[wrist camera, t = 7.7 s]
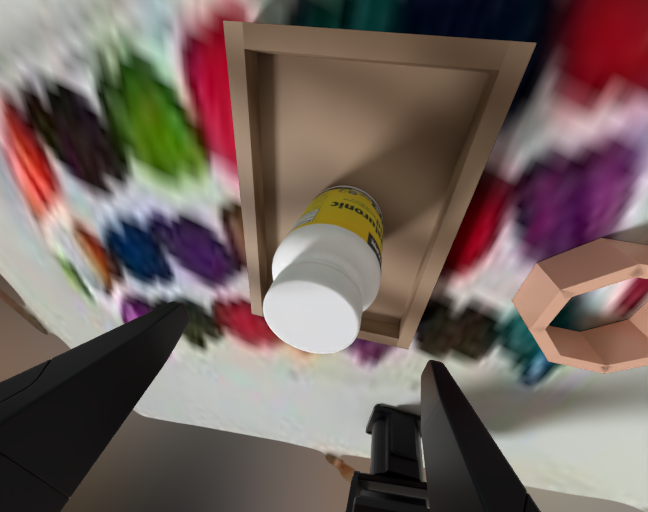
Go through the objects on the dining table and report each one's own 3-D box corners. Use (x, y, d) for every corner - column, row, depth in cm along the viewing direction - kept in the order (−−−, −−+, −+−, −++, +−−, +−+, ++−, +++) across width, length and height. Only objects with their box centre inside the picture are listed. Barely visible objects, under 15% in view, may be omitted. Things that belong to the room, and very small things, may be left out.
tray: (406, 327, 24) (408, 349, 22) (263, 296, 25) (251, 313, 23) (512, 51, 13) (536, 42, 11) (246, 31, 14) (223, 20, 12)
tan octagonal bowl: (613, 346, 20) (645, 382, 18) (496, 322, 21) (511, 353, 19) (714, 255, 15) (776, 286, 13) (557, 230, 16) (587, 254, 14)
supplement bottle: (400, 226, 18) (409, 341, 9) (341, 265, 20) (309, 378, 12) (349, 164, 16) (308, 236, 8) (293, 214, 19) (220, 306, 11)
